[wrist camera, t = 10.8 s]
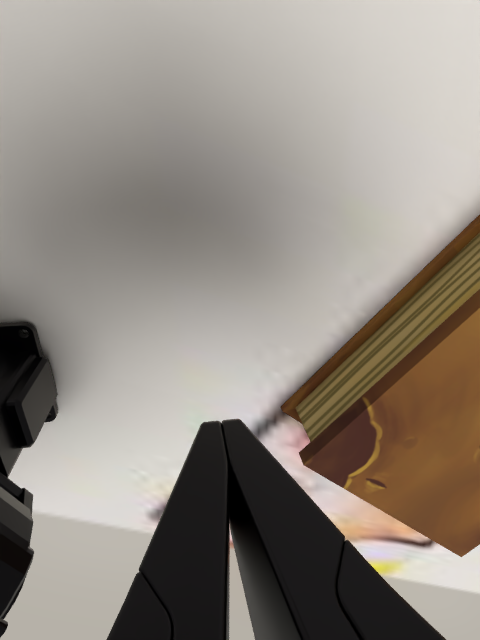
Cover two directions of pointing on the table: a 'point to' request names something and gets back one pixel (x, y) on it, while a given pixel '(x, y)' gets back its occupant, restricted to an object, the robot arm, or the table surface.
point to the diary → (408, 403)
